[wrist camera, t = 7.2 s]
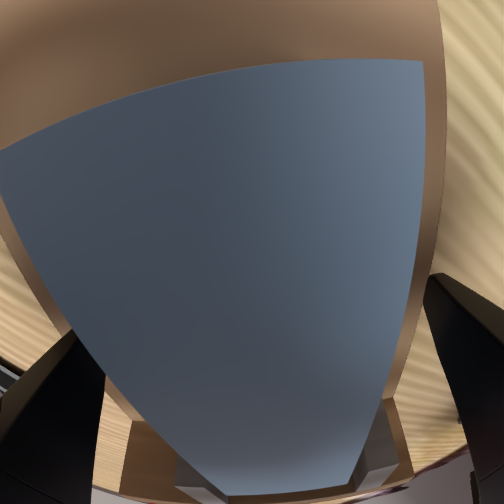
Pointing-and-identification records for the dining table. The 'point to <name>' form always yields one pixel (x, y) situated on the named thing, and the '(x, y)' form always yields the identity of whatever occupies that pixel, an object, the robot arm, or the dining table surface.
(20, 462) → the robot arm
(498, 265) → the dining table surface
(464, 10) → the dining table surface
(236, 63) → the shelf
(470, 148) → the dining table surface
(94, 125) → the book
